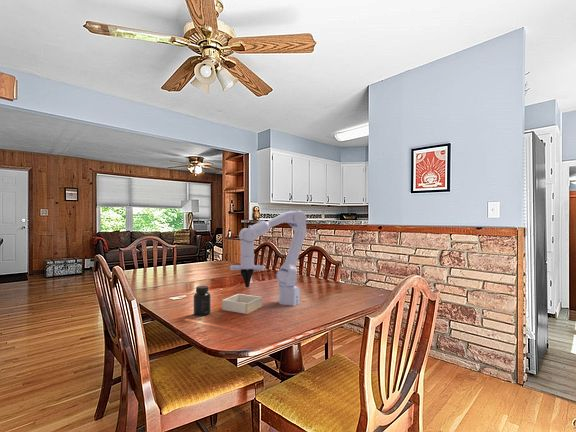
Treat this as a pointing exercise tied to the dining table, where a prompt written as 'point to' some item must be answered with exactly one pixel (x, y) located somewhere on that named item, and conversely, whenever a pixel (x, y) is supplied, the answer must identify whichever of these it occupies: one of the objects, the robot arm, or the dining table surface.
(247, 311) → the flap
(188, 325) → the dining table surface
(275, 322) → the dining table surface
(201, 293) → the supplement bottle
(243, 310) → the carton
